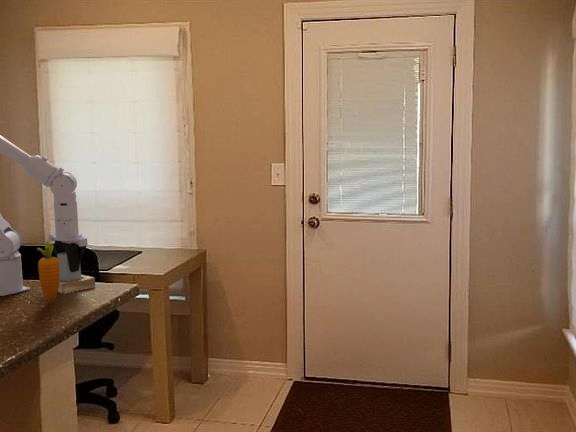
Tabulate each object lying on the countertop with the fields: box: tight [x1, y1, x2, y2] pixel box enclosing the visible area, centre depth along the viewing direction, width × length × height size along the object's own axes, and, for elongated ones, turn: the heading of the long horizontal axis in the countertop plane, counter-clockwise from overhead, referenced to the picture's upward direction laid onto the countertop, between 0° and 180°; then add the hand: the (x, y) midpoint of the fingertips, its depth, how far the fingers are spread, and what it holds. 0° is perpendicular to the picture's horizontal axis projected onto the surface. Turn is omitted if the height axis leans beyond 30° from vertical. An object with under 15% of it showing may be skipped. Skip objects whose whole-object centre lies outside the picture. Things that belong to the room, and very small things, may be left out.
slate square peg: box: [58, 252, 82, 282], centre depth 171 cm, size 4×4×7 cm
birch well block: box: [57, 274, 96, 295], centre depth 172 cm, size 9×9×2 cm
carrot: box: [36, 241, 60, 304], centre depth 156 cm, size 5×5×15 cm
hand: (69, 270), depth 171 cm, fingers closed on slate square peg, 4 cm apart
